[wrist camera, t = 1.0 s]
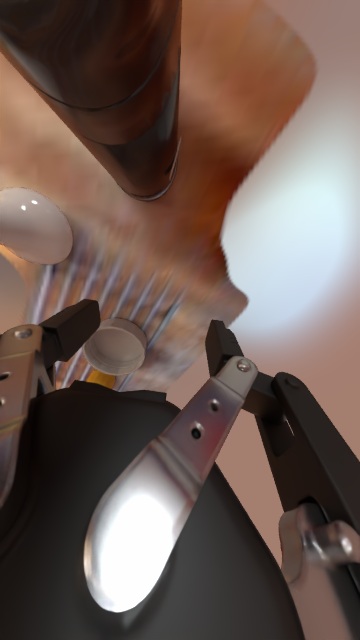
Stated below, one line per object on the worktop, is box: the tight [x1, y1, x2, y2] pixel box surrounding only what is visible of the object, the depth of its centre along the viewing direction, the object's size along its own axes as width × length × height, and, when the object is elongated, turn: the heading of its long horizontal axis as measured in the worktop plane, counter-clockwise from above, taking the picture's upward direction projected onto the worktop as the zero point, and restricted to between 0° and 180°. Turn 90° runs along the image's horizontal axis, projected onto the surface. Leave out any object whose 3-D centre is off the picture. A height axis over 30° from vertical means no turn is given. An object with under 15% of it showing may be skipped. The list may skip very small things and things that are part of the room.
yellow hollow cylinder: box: [86, 370, 115, 389], centre depth 34 cm, size 6×6×11 cm
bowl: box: [82, 318, 147, 376], centre depth 32 cm, size 12×12×4 cm
